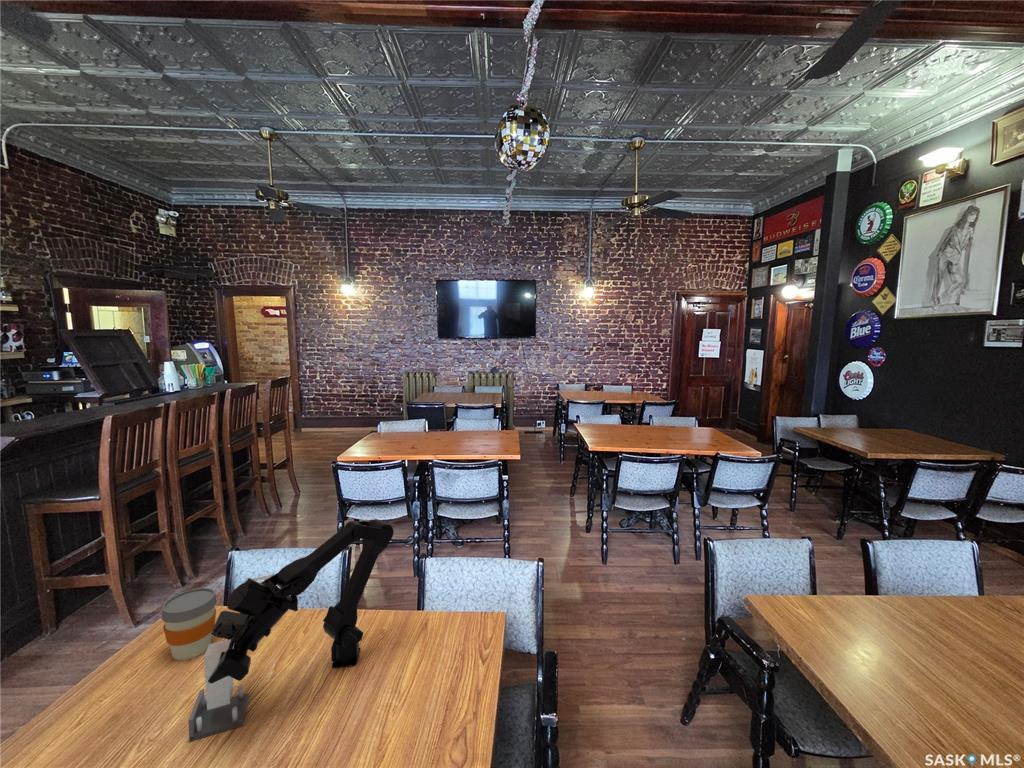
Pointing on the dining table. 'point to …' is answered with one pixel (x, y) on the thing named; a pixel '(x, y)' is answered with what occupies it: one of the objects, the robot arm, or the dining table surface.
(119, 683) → the dining table surface
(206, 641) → the reusable coffee cup
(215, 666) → the silver tall square block
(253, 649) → the robot arm
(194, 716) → the drive dock
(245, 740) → the dining table surface
